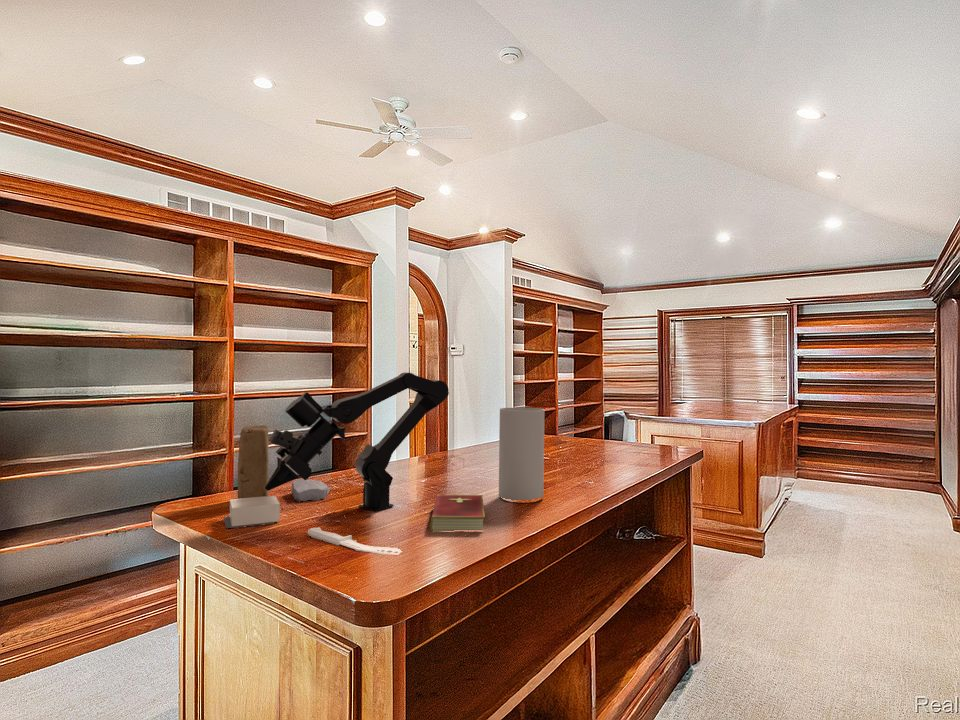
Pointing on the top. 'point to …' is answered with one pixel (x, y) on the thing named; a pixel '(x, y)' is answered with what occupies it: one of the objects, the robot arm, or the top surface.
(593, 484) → the top surface
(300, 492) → the stone block
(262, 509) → the off-white thick block
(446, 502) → the hardcover book
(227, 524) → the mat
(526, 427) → the cylinder vase
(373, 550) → the knife
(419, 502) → the top surface
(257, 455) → the block
